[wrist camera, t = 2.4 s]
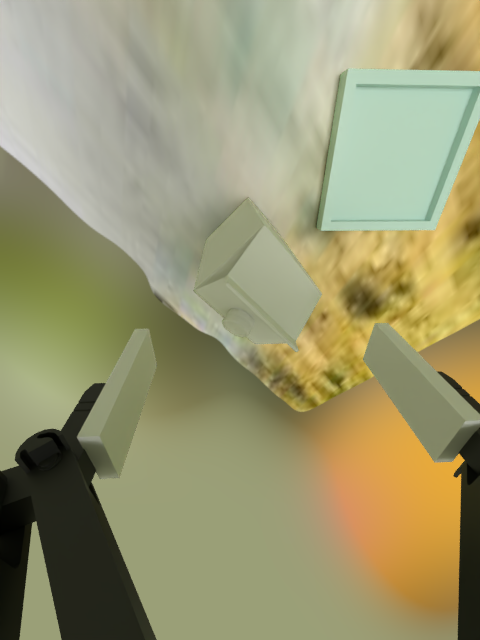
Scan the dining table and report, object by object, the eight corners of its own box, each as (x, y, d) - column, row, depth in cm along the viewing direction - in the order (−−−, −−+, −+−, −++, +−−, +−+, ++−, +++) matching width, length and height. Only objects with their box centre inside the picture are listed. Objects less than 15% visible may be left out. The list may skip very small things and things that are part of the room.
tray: (340, 74, 24) (348, 68, 23) (481, 77, 25) (498, 71, 23) (316, 227, 32) (320, 230, 30) (425, 226, 32) (434, 229, 31)
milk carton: (248, 196, 29) (274, 240, 13) (285, 241, 32) (342, 321, 16) (205, 239, 32) (185, 319, 16) (243, 277, 35) (259, 378, 19)
